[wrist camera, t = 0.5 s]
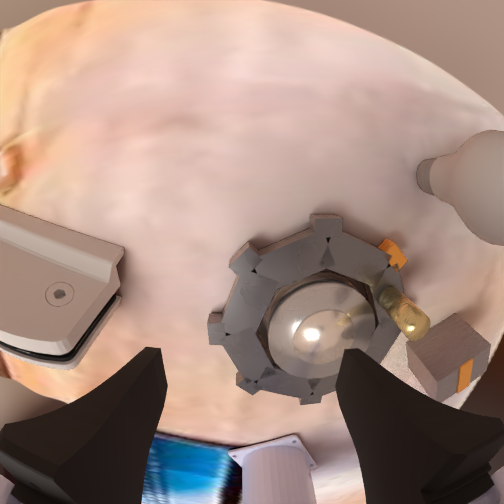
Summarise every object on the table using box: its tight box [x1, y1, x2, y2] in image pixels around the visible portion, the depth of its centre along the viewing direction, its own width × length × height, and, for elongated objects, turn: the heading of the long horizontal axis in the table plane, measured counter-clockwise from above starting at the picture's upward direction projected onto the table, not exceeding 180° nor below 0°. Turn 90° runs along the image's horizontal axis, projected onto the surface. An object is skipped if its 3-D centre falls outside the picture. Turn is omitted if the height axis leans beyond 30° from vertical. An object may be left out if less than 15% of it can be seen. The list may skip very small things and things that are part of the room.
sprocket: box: [207, 215, 430, 405], centre depth 18 cm, size 15×15×6 cm
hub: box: [266, 272, 375, 379], centre depth 19 cm, size 8×8×3 cm
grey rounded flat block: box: [0, 205, 124, 370], centre depth 15 cm, size 17×5×10 cm, turn 73°
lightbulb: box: [417, 130, 504, 246], centre depth 12 cm, size 6×6×11 cm
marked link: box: [406, 313, 491, 403], centre depth 19 cm, size 4×6×6 cm, turn 114°
